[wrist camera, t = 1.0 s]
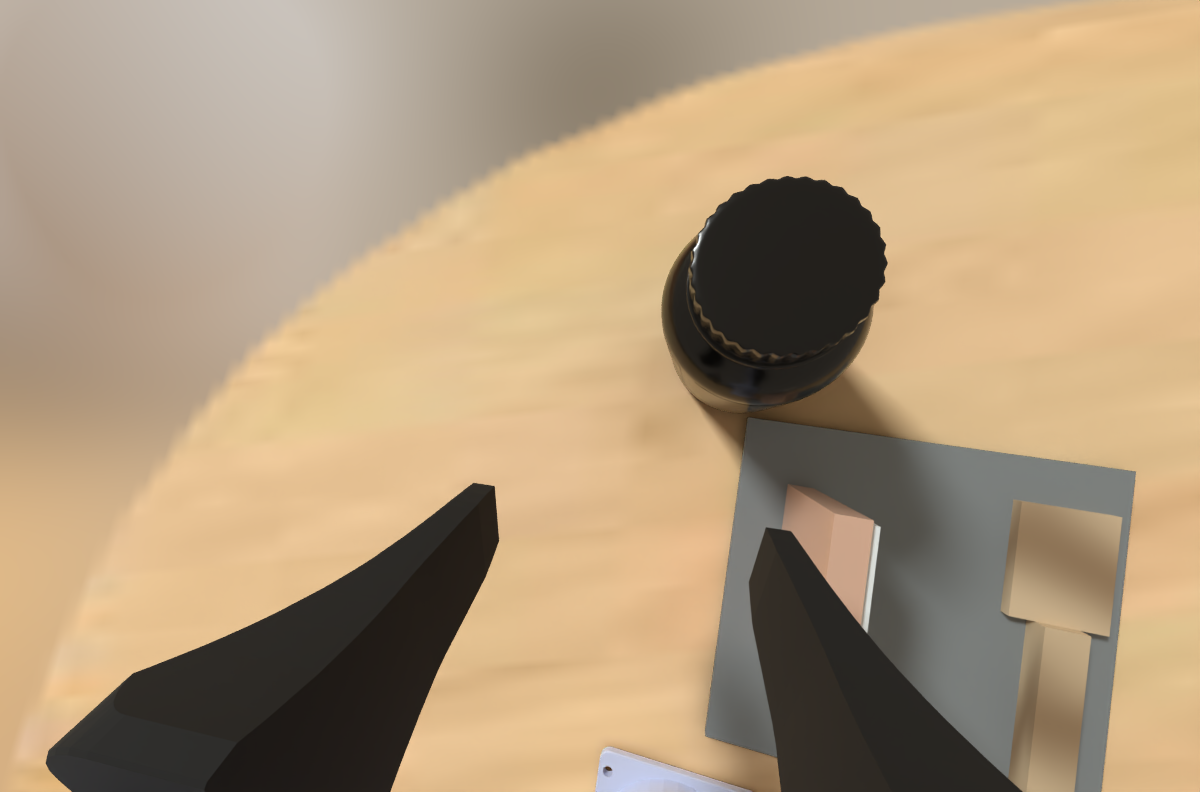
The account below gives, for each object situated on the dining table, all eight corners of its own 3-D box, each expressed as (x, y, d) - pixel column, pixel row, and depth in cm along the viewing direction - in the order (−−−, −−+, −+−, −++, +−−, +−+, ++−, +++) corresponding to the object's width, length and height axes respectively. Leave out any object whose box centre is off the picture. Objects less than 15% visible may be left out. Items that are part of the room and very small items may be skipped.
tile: (798, 654, 21) (853, 769, 14) (766, 646, 21) (803, 754, 14) (820, 489, 21) (884, 522, 14) (787, 484, 21) (834, 513, 14)
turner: (1074, 845, 18) (1096, 869, 17) (976, 816, 19) (992, 838, 18) (1110, 514, 19) (1134, 519, 18) (1013, 499, 19) (1030, 503, 18)
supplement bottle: (824, 301, 22) (981, 160, 10) (784, 430, 22) (895, 438, 10) (691, 271, 23) (694, 117, 12) (654, 391, 23) (619, 360, 12)
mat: (1086, 842, 18) (1094, 851, 18) (704, 730, 22) (705, 736, 21) (1126, 470, 19) (1135, 471, 18) (747, 417, 22) (748, 417, 22)
